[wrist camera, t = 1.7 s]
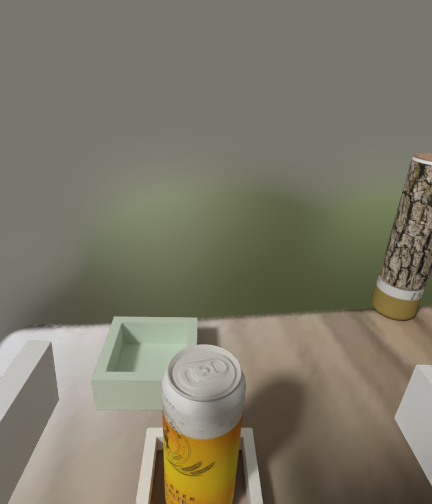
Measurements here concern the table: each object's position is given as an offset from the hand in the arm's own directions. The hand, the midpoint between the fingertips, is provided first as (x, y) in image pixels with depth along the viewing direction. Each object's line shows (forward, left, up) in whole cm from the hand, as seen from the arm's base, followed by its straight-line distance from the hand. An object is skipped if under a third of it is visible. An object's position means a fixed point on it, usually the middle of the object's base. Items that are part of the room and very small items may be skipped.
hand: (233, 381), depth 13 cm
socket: (+7, -24, -24) cm, 34 cm away
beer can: (+1, -9, -24) cm, 26 cm away
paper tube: (-31, -38, -24) cm, 55 cm away
